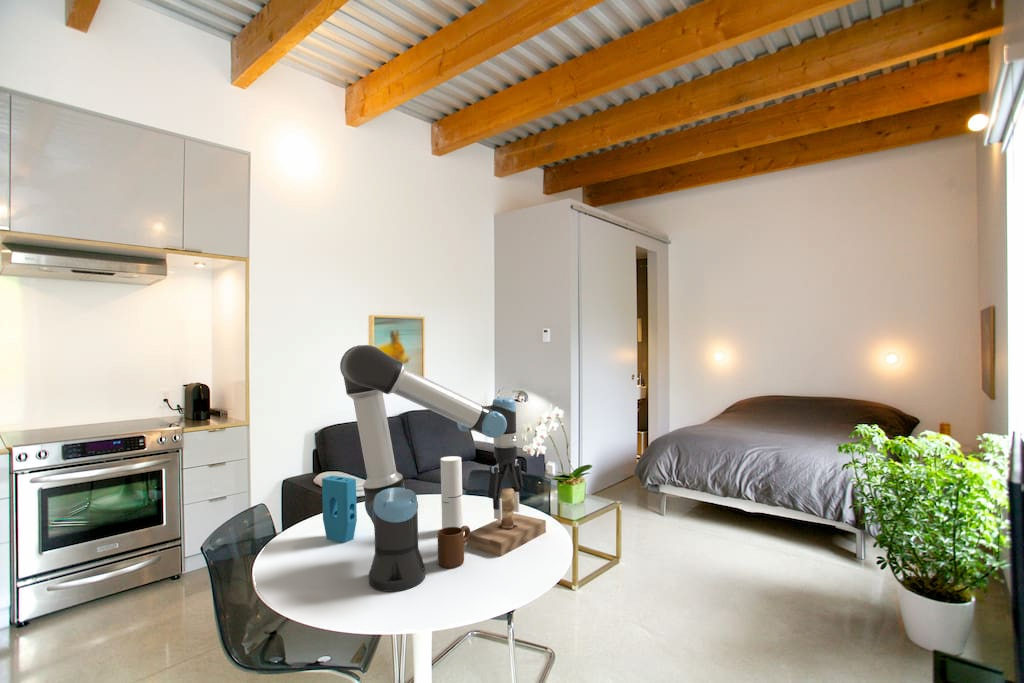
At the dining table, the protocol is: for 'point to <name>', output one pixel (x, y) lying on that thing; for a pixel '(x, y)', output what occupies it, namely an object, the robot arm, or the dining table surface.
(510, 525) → the oak peg
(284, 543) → the dining table surface
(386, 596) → the dining table surface
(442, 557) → the mug
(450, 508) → the cylindrical container
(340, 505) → the block
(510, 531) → the seat board
